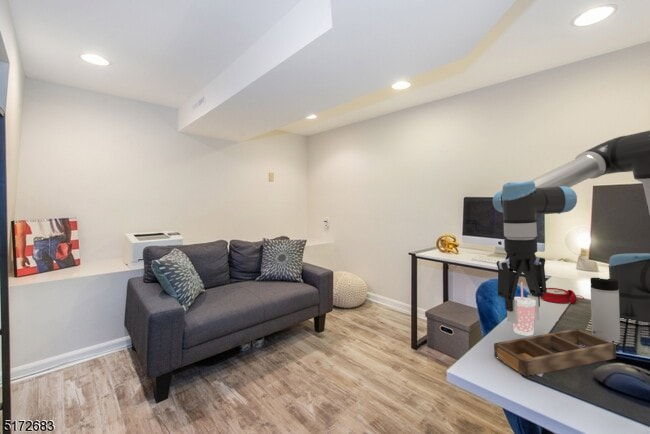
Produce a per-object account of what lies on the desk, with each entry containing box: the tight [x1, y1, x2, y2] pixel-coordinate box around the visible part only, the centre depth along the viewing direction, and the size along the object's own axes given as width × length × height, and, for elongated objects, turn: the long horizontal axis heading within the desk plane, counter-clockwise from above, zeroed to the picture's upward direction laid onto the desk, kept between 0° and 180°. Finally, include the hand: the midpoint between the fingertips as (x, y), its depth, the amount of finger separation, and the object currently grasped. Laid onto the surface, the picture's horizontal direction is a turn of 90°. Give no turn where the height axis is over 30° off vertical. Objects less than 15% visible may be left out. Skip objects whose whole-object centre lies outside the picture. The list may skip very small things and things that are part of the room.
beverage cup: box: [512, 281, 536, 337], centre depth 81 cm, size 6×6×14 cm
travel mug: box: [590, 277, 621, 341], centre depth 89 cm, size 6×7×20 cm
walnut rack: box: [493, 328, 617, 377], centre depth 83 cm, size 30×10×4 cm, turn 101°
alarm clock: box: [540, 287, 585, 305], centre depth 125 cm, size 10×6×15 cm
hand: (523, 320), depth 81 cm, fingers closed on beverage cup, 6 cm apart
